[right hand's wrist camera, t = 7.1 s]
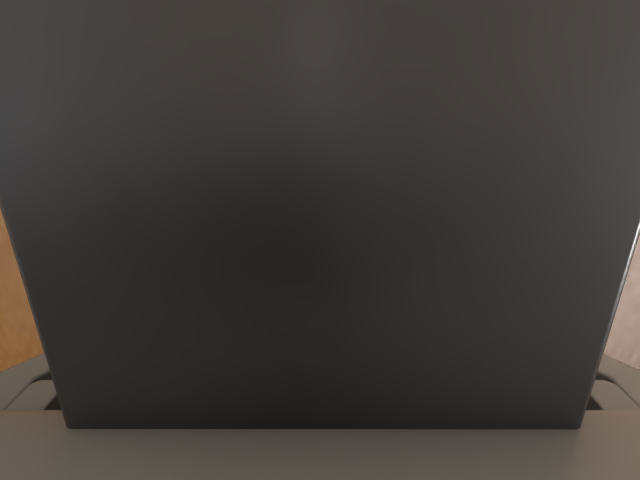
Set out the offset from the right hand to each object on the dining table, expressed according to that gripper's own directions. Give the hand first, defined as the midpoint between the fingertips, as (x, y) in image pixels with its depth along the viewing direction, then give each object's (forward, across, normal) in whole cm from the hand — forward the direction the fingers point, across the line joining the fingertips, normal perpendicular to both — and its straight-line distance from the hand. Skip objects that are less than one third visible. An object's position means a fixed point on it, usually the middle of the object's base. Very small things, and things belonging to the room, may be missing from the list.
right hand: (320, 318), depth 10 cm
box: (+4, 0, -8) cm, 9 cm away
